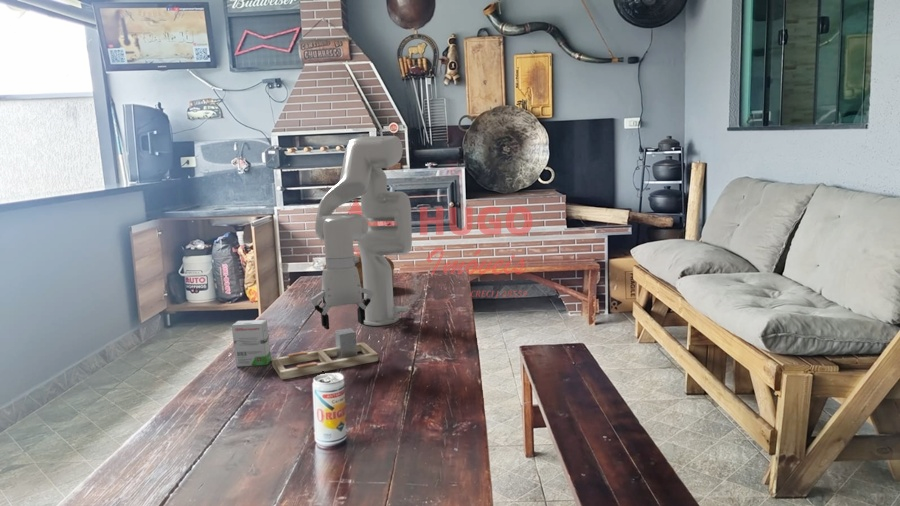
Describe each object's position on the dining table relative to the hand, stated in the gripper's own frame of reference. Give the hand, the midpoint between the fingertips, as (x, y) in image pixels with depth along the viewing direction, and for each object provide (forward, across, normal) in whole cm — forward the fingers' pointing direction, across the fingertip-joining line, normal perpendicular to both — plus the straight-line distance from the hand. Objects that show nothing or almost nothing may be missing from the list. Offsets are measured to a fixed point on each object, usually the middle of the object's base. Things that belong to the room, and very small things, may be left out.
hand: (343, 325), depth 175 cm
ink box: (+10, +23, -12) cm, 27 cm away
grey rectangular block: (+10, 0, -1) cm, 10 cm away
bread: (+8, -29, -77) cm, 83 cm away
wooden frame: (+10, +6, -1) cm, 11 cm away
